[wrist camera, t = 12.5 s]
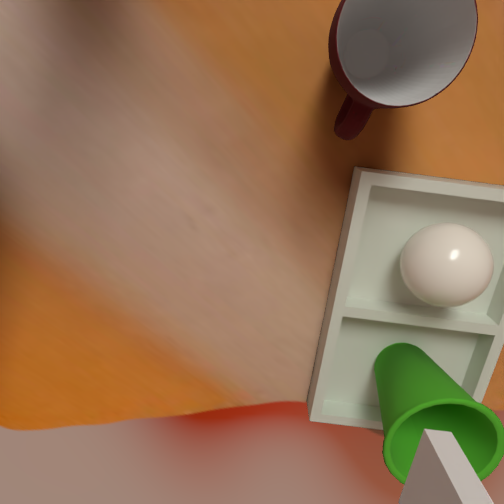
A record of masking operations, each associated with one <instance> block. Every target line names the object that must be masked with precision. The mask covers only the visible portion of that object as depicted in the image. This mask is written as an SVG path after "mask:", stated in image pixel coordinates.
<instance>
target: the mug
mask: <svg viewBox="0 0 504 504" xmlns="http://www.w3.org/2000/svg"><path fill="white" fill-rule="evenodd" d="M477 25H478V13H477V5H476V0H341V2H340V4H339V6H338V8H337V10H336V13H335V15H334V18H333V21H332V24H331V28H330V33H329V43H328V48H329V59H330V64H331V67H332V70H333V72H334V75H335V77H336V79H337V81H338V82H339V84H340V85H341V86H342V88H343V89H344V90H345V91H346V92H347V93H348V94H347V96H346V98H345V101H344V103H343V105H342V107H341V109H340V111H339V113H338V115H337V118H336V121H335V126H334V131H335V134H336V135H337V136H338V137H340V138H341V139H345V140H351V139H354V138H355V137H356V136H357V135H358V134H359V133H360V132H361V131H362V129H363V128H364V126H365V124H366V123H367V121H368V119H369V117H370V115H371V113H372V111H373V110H374V109H378V108H401V107H408V106H413V105H417V104H420V103H422V102H425V101H427V100H429V99H431V98H433V97H434V96H436V95H438V94H439V93H440V92H442V91H443V90H444V89H446V88H447V87H448V86H449V85H450V84H451V83H452V82H453V81H454V80H455V79H456V77H457V76H458V75H459V73H460V72H461V71H462V69H463V68H464V66H465V64H466V62H467V61H468V59H469V56H470V54H471V52H472V49H473V46H474V42H475V39H476V33H477Z"/></svg>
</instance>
